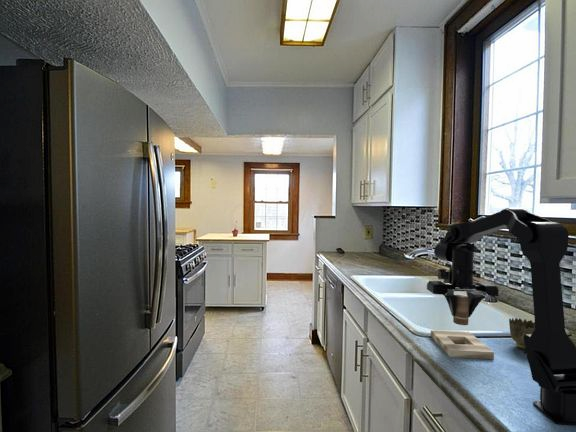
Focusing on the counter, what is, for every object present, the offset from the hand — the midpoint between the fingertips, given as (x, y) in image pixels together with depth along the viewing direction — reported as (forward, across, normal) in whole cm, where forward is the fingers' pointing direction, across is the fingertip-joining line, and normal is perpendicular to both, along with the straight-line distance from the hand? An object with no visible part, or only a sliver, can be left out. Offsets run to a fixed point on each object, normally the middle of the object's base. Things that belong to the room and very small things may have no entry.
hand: (460, 316), depth 94 cm
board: (+9, 0, 0) cm, 9 cm away
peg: (+2, 0, 0) cm, 2 cm away
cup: (+10, -19, -1) cm, 21 cm away
